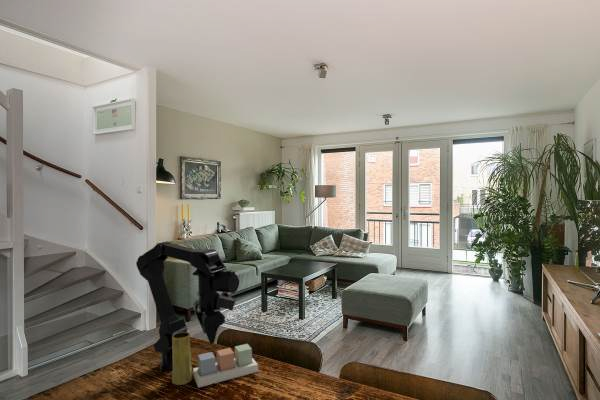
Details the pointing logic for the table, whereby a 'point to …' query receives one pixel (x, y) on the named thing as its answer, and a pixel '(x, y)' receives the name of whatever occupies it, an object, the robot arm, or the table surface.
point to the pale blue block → (206, 364)
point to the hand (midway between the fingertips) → (208, 338)
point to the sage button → (243, 355)
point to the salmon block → (225, 359)
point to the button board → (224, 374)
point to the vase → (181, 358)
